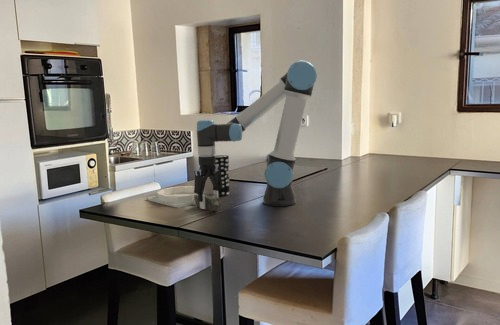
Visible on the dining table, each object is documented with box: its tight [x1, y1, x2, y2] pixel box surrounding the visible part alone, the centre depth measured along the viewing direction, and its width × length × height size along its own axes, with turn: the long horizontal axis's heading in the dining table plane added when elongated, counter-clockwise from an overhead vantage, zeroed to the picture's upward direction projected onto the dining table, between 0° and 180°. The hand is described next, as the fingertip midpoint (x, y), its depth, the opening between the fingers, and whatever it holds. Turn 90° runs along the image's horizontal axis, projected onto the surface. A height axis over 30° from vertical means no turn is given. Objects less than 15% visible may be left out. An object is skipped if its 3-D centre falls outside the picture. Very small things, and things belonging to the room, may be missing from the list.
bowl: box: [156, 185, 206, 205], centre depth 222 cm, size 22×22×4 cm
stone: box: [194, 192, 222, 211], centre depth 204 cm, size 14×7×10 cm, turn 53°
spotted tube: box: [212, 154, 231, 197], centre depth 229 cm, size 8×8×20 cm
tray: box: [146, 194, 193, 209], centre depth 222 cm, size 24×23×2 cm
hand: (209, 206), depth 203 cm, fingers closed on stone, 7 cm apart
